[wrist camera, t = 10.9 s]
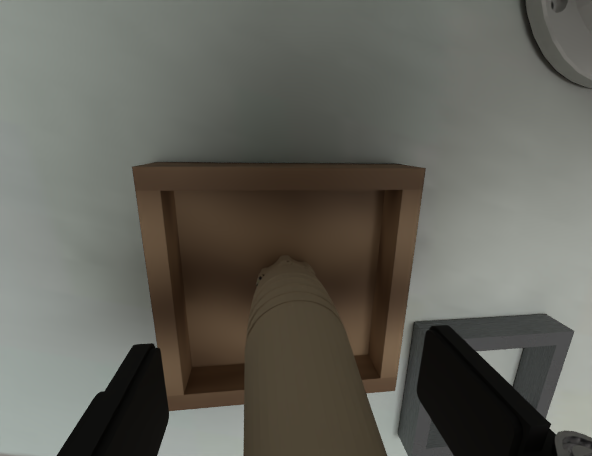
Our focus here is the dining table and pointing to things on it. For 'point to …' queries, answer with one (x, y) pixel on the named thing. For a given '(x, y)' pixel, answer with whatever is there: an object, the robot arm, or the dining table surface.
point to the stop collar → (485, 336)
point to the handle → (302, 372)
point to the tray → (272, 260)
